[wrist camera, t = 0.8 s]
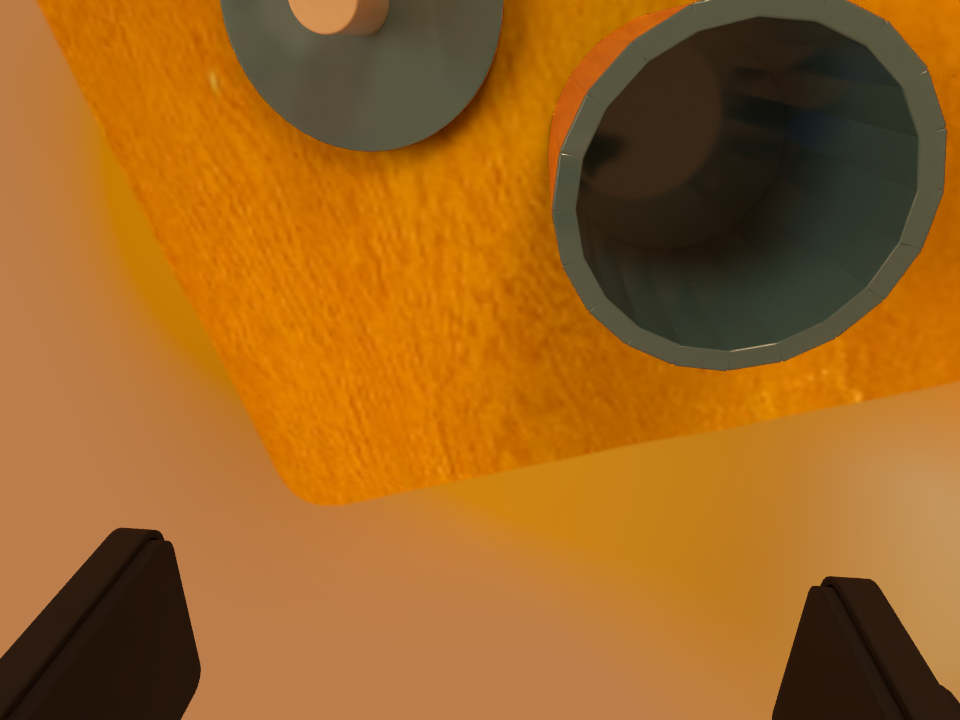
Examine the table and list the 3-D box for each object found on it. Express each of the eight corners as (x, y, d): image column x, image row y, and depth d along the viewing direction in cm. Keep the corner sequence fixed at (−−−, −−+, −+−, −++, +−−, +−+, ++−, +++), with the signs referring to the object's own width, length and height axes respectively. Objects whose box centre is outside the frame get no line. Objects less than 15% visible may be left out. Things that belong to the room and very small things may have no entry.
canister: (618, -38, 26) (669, -90, 16) (849, 74, 27) (1038, 94, 17) (511, 206, 31) (495, 290, 20) (713, 295, 32) (797, 418, 21)
